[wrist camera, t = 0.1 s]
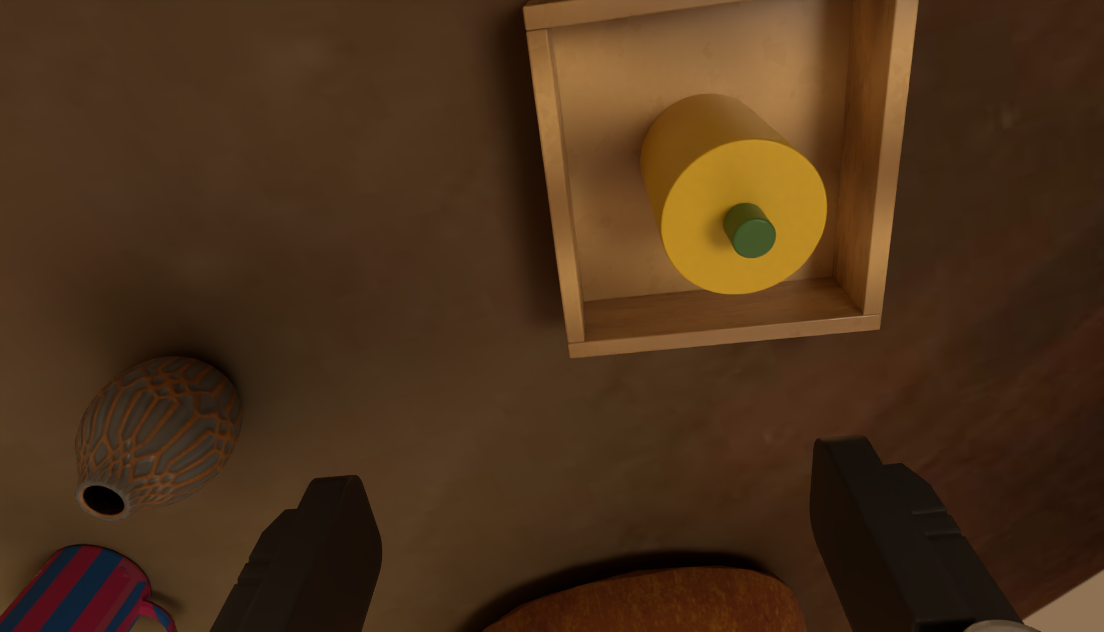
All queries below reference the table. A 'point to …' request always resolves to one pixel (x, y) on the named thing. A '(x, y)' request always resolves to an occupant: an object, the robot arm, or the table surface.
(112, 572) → the mug
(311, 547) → the robot arm
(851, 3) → the tray
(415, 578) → the table surface
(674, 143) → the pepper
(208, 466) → the vase
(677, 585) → the bread
